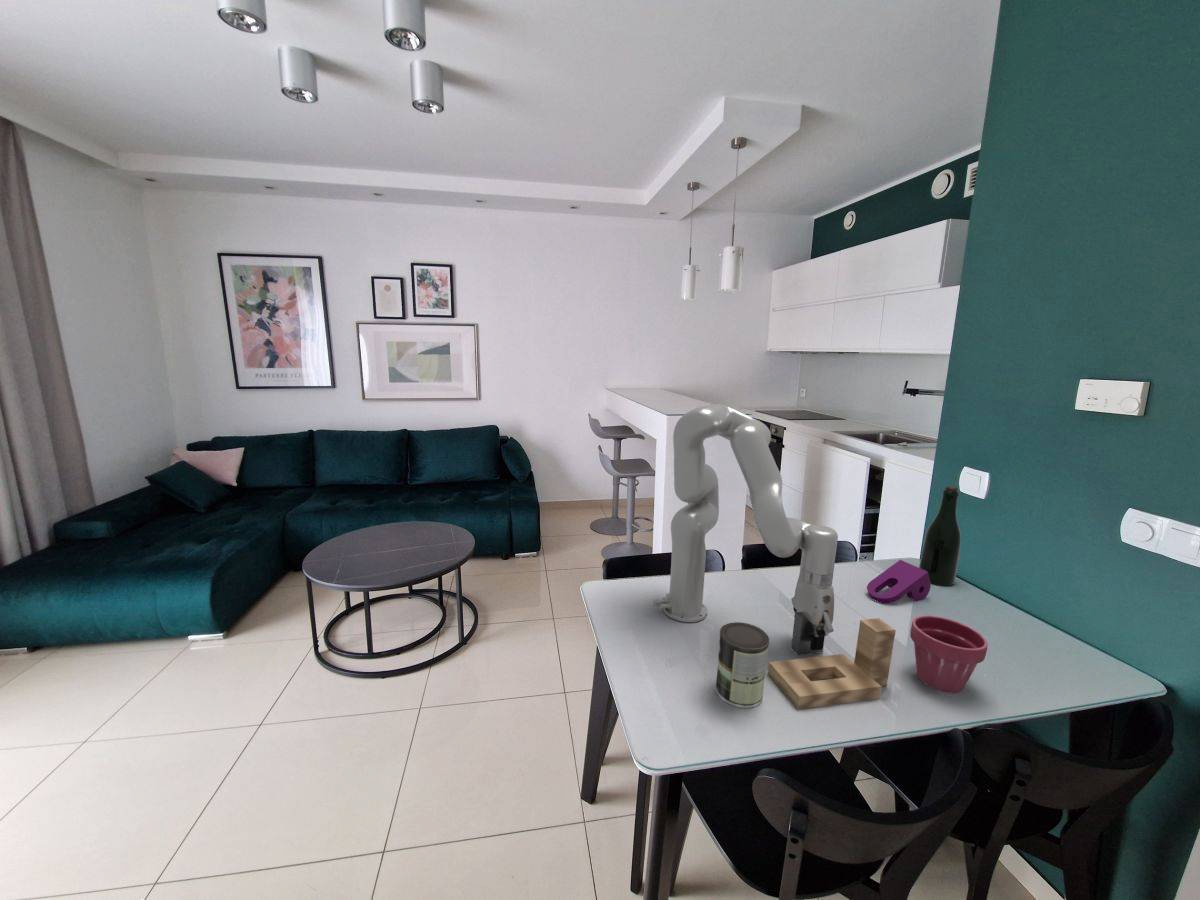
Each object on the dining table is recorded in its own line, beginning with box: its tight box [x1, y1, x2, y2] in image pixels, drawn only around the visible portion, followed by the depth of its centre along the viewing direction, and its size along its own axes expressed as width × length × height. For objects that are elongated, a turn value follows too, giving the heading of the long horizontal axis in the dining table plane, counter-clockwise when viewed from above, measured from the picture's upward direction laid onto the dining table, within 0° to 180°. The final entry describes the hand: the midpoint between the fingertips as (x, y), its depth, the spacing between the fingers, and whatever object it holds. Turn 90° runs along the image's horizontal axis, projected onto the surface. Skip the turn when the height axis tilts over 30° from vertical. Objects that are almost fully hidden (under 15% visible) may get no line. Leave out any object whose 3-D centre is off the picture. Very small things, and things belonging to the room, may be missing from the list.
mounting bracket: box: [866, 559, 932, 604], centre depth 156 cm, size 9×8×18 cm
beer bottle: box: [918, 485, 962, 587], centre depth 165 cm, size 10×10×33 cm
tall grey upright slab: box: [790, 612, 826, 656], centre depth 124 cm, size 7×3×10 cm, turn 102°
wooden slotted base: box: [767, 617, 897, 710], centre depth 111 cm, size 25×12×14 cm, turn 102°
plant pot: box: [909, 615, 989, 694], centre depth 114 cm, size 14×14×13 cm
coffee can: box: [714, 621, 770, 709], centre depth 107 cm, size 10×10×14 cm
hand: (807, 640), depth 125 cm, fingers open, 6 cm apart
